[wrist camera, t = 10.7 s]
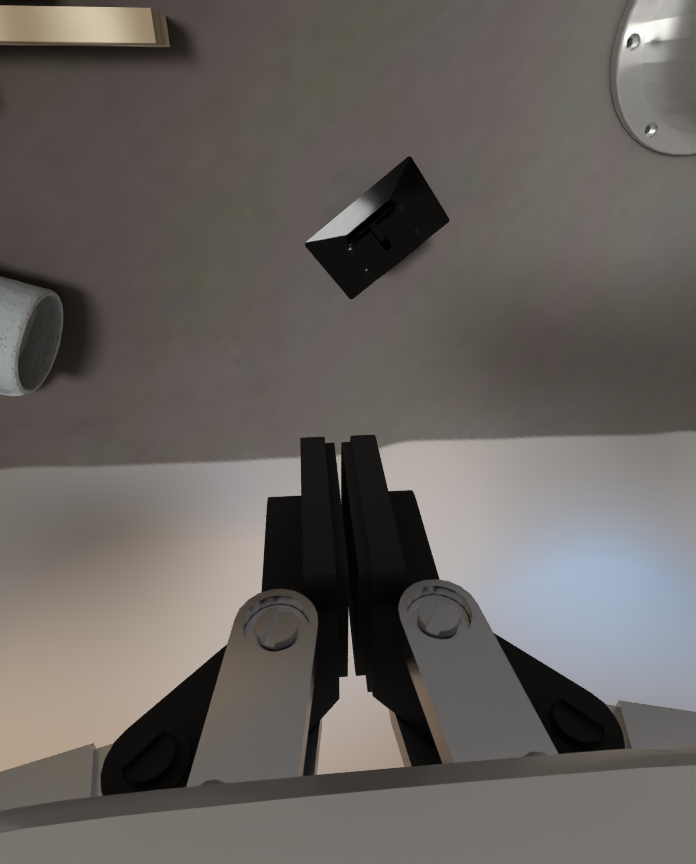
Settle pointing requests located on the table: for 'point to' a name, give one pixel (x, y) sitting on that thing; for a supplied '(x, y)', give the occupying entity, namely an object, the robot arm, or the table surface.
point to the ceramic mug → (27, 335)
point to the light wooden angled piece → (82, 26)
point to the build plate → (378, 229)
